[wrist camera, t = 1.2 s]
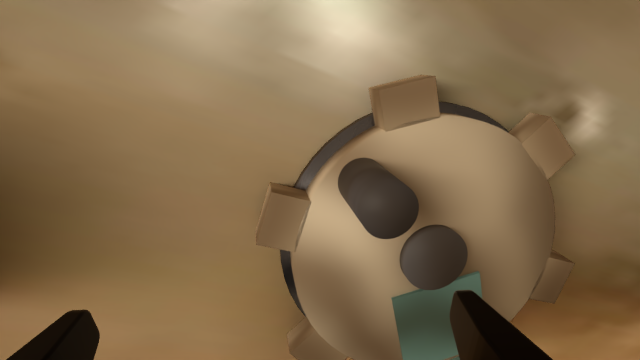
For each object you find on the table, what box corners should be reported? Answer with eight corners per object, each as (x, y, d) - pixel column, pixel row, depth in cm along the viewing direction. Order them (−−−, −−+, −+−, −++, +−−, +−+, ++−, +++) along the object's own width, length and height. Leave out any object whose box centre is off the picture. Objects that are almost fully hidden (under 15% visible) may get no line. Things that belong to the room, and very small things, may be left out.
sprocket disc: (391, 414, 26) (427, 503, 21) (189, 258, 20) (170, 328, 15) (606, 228, 25) (702, 273, 20) (457, 3, 19) (537, -18, 14)
